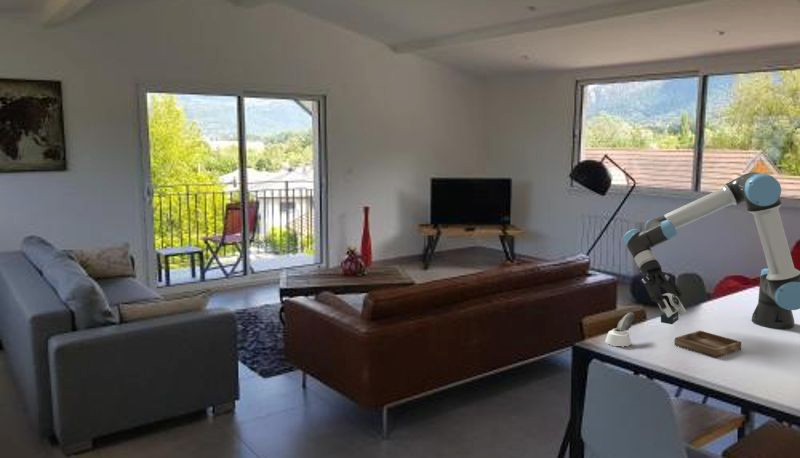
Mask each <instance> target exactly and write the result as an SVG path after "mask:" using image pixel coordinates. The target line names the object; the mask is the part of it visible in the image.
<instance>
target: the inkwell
mask: <svg viewBox="0 0 800 458" xmlns="http://www.w3.org/2000/svg"><path fill="white" fill-rule="evenodd" d="M634 318H635V313H634V312H632V311H631V312H627V314H625V315H624V316H623V317H622V318H621V319H620V320H619V321H618V323H617V324H616V325H617V326H616V328H612V329H611V330H609V331H608V332H607V335H606V338H605V340H604V341H605V343H606V344H607V345H609V344H610V345H609V346H612V345H613V346H612V347H616V346H622V347H621V348H625V347H624V346H627V347H630V346H631V345H632V343H631V338H630V333H629V332H628V331H629V330H630V328H632V325H633V321H634V320H635V319H634ZM629 345H630V346H629Z"/></svg>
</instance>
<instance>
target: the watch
mask: <svg viewBox="0 0 800 458" xmlns="http://www.w3.org/2000/svg"><path fill="white" fill-rule="evenodd" d="M663 296H667V298H668V299H669V303H670V305H671V306H672V307H673V308H674V310H675V311H674V310H672V312H673V315H671V316H670V317H667V315H666V313H665V312H664V310H663V309H662V308H661V306H660V305H659V303H657V306H658V308H659V309H660V311H661V312H662V313H661V314H660V323H662V324H667V325H673V324H675V323H676V322H677V321H679V312H678V310H679V309H680V305H681V302H682V301H681V302H680V300H681V299H680V300H679V298H680V297H679V298H678V297H677V296H676V295H673V294H671V293H667V292H666V293H663V294H662V297H663Z"/></svg>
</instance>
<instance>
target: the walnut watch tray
mask: <svg viewBox="0 0 800 458" xmlns="http://www.w3.org/2000/svg"><path fill="white" fill-rule="evenodd" d="M742 343H743V342H742V341H740V340H737V339H733V338H729V337H726V336H721V335H718V334H715V333H710V332H707V331H704V330H699V329H698V330H696V331H693V332H691V333H685V334H684V335H680V336H677V337H675V338H674V346H675V345H676V346H675V347H678V346H679V347H678V348H681V347H682V349H684V348H685V350H687V349H688V351H691V350H692V351H691V352H694V351H695V352H694V353H697V352H698V353H697V354H700V353H701V355H703V356H707V357H710V356H711V358H713V357H714V358H713V359H719V358H721V356H722V357H724V355H725V356H727V355H730V354H733V353H735V352H739V351H741V349H742ZM726 354H727V355H726ZM718 357H719V358H718Z"/></svg>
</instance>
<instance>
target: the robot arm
mask: <svg viewBox="0 0 800 458" xmlns="http://www.w3.org/2000/svg"><path fill="white" fill-rule="evenodd" d="M781 194H782V186H781V184H780V182H779V181H778V180H777V179H776V178H775V177H773V176H772V175H770V174H767V173H760V172H754V171H752V172H747V173H744V174H743V175H740V176H739V177H737V178H735V179H732V180H731V181H729V182H726V183H724V184H723V186H722V187H721V188H718V189H717V190H714V191H713V192H711V193H709V194H706V195H704V196H702V197H700V198H697V199H696V200H693V201H691V202H688V203H687V204H685V205H682V206H681V207H678V208H675V209H674V210H672V211H670V212H668V213H667V212H666V213H665V214H663V215H661V216H657V217H656V218H655V217H654V218H651V219H648V220H647V222H645V225H644V228H645V230H642V231H641V230H640V229H639V228H634V229H630V230H628V231H627V232H626V233H625V234H624V235H623V237H622V238H623V241H624V243H625V246H626V247H627V249H628V251H629V252H630V254H631V256H632V258H633V260H634V261H635V263H636V266H637V267H638V268H639V271H640V272H641V274H642V276H643V278H642V279H641V280H640V282H641V283H642V285H643V286H644V287H645V289H646V291H647V294H648V296H649V297H650V300H651V301H652V302H655V304H658V303H659V305H660V306H661V308H662V309H663V310H664V312H665V313H666V315H667V317H670V316H671V315H673V312H672V311H673V310H672V309H671V306H670V305H669V304H668V301H667V299H665V298H663V296H662V295H663V294H662V291H661V288H663V289H664V291H665V292H666V293H671V294H673V295H676V296H677V297H678V298H679V300H680V302H681V305H680V309H679V310H678V311H677V312H678V314H680V317H682V316H684V315H685V314H687V310H686V309H685V307H684V304H683V301H682V300H681V297H682V296H683V293H682V292H681V289H679V286H678V285H677V284H676V282H675V280H674V279H673V276H672V274H671V273H669V274H665V273H664V272H663V271H662V270H663V269H662V266H661V264H660V262H659V261H658V260H657V257H656V255H655V253H654V252H653V250H652V248H655V247H656V246H658V245H661V244H662V243H665V242H667V241H669V240H671V239H673V238H675V237H676V236H678V231H677V229H680V228H681V227H684V226H687V225H688V224H691V223H693V222H696V221H698V220H699V219H701V218H704V217H706V216H708V215H711V214H713V213H716V212H717V211H720V210H722V209H725V208H727V207H729V206H731V205H733V206H737V205H739V204H743V203H745V205H746V206H745V207H746V209H747V212H748V213H749V214H752V215H753V218H754V222H755V225H756V228H757V232H758V236H759V240H760V243H761V247H762V251H763V254H764V258H765V260H766V261H765V262H766V265H767V268H763V269H761V271H760V275H759V279H760V280H759V287H758V288H759V289H758V301H757V305H756V307H755V308H754V311H753V313H752V314H751V315H752V316H751V322H752V323H753V324H756V325H758V326H761V327H766V328H772V329H785V330H787V329H793V328H794V326H795V318H794V314H793V311H796V310H799V309H800V270H799V269H797V268H795V265H794V262H793V259H792V258H793V257H792V254H791V250H790V247H789V243H788V240H787V236H786V232H785V229H784V225H783V222H782V217H781V214H780V213H781V212H780V210H779V209H780V208H781V206H782V205H783V203H782V199H781ZM660 287H661V288H660ZM659 305H658V306H659ZM664 312H663V313H664Z"/></svg>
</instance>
